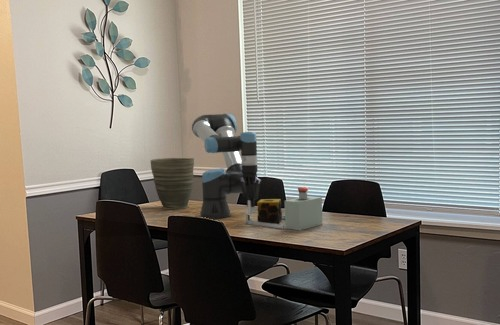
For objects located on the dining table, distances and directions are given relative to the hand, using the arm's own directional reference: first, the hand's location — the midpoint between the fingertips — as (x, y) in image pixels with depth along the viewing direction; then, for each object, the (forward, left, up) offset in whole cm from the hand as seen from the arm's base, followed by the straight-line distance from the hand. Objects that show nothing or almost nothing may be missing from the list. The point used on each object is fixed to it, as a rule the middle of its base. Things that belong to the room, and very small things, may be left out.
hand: (251, 213), depth 270 cm
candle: (+12, 0, -3) cm, 12 cm away
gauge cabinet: (+32, 0, -3) cm, 32 cm away
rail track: (+17, 0, -3) cm, 17 cm away
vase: (-61, +2, -3) cm, 61 cm away
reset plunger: (+32, 0, +6) cm, 33 cm away
